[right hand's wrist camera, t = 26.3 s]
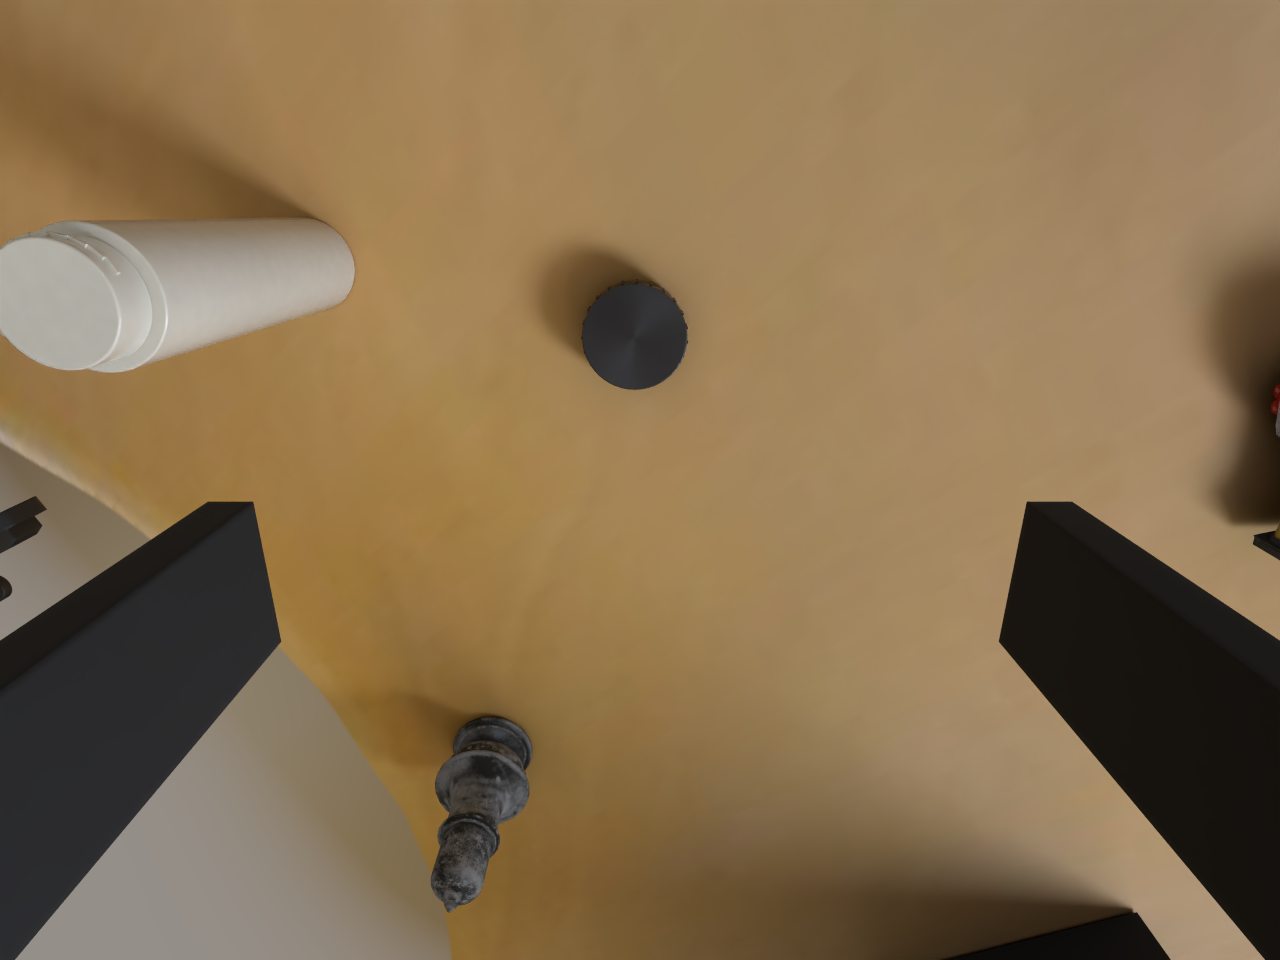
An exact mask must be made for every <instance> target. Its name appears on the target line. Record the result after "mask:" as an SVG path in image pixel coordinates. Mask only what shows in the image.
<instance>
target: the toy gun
mask: <svg viewBox="0 0 1280 960" xmlns="http://www.w3.org/2000/svg"><path fill="white" fill-rule="evenodd" d="M1273 394H1274V396H1275V398H1276V401H1274V402H1273V403H1272V404H1271V412H1272V413H1274V414H1276V415H1277V420H1276V435H1278V437H1279V438H1280V384H1278V385H1275V387H1274V390H1273ZM1254 537H1255V538H1254V542H1253V545H1255V546H1257V547H1258V548H1260V549H1262V550H1264V551H1265V552H1267V553H1269V554H1270V555H1272V556H1274V557H1275V558H1277V559H1279V560H1280V524H1279V526H1278V528H1277V530H1276V531H1272V532H1267V533H1262V534H1257V535H1254Z"/></svg>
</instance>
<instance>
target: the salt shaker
mask: <svg viewBox="0 0 1280 960" xmlns="http://www.w3.org/2000/svg"><path fill="white" fill-rule="evenodd" d="M453 750H454V755H453V756H452V757H451V758H450V759H449V760H448V761H446V762H445V763H444V764H443V765H442V767H441V768H440V770H439V772H438V773H437V777H436V781H435V788H436V794H437V797H438V799H439V801H440V803H441V804H442V805H443V807H444V808H445V809H446V810H447V811H448V812H449V816H448V819H446V820H445V821H444V822H443V823H442V824H441V826H440V827H439V830H438V835H437V836H438V842H439V845H440V849H439V853H438V856H437V859H436V862H435V865H434V868H433V872H432V876H431V887H432V889H433V891H434V893H435V895H436V896H437V897H438V899H440V900H441V901H443V902H444V906H445V908H446V910H447V912H450V911H452V910H453V909H455V908H456V907H457V905H465V904H467V903H469V902H471V901H472V900H474V899H475V898H476V897H477V896H478V894H479V893H480V891H481V889H482V886H483V882H484V878H485V874H486V870H487V865H488V861H489V858H490V857H491V856H493V855H494V854H495V852H496V851H497V849H498V847H499V843H500V837H499V833H498V831H497V828H498V824H500V823H503V822H505V821H508V820H510V819H512V818H514V817H515V816H516V815H517V814H519V813H520V812H521V811H522V809H523V808H524V806H525V805H526V803H527V800H528V797H529V783H528V780H527V777H526V773H525V770H526V768H527V767H528V765H529V764H530V761H531V758H532V745H531V742H530V739H529V737H528V736H527V734H526V733H525V732H524V730H522V729H521V728H520V727H519V726H517V725H516V724H514V723H512V722H510V721H508V720H505V719H501V718H497V717H485V718H480V719H475V720H473V721H471V722H469V723H467V724H466V725H465V726H464V727H462V728H461V729H460V730H459V732H458V734H457V735H456V737H455V740H454V744H453Z"/></svg>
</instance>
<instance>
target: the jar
mask: <svg viewBox="0 0 1280 960" xmlns="http://www.w3.org/2000/svg"><path fill="white" fill-rule="evenodd" d="M354 275H355V268H354V261H353V257H352V254H351V252H350V249H349V247H348V246H347V244H346V242H345V241H344V239H343V238H342V237H341V236H340V235H339V234H338V233H337V232H336V231H335V230H334V229H333V228H331V227H330V226H329V225H327V224H325V223H323V222H321V221H318V220H315V219H312V218H233V219H159V220H86V221H62V222H57V223H53V224H50V225H48V226H46V227H44V228H42V229H40V230H39V231H37V232H33V233H26V234H23V235H21V236H18V237H16V238H14V239H10V240H9V241H8V242H7V243H6V244H5V245H4V246H3V247H1V248H0V333H1V334H2V336H5V337H6V338H7V340H8V341H9V342H10V343H11V344H12V345H13V346H14V347H15V348H17V349H18V350H19V351H20V352H22V353H23V354H24V355H26V356H28V357H29V358H31V359H32V360H34V361H36V362H38V363H40V364H43V365H46V366H49V367H52V368H56V369H61V370H83V369H90V370H94V371H98V372H106V373H116V372H124V371H128V370H131V369H135V368H138V367H141V366H145V365H148V364H151V363H154V362H158V361H161V360H164V359H167V358H171V357H174V356H177V355H180V354H184V353H187V352H190V351H193V350H197V349H200V348H203V347H206V346H210V345H213V344H216V343H219V342H223V341H226V340H229V339H232V338H236V337H239V336H242V335H245V334H249V333H252V332H255V331H258V330H262V329H265V328H268V327H271V326H275V325H278V324H281V323H284V322H288V321H291V320H294V319H297V318H301V317H304V316H307V315H310V314H314V313H317V312H320V311H323V310H327V309H330V308H332V307H334V306H336V305H338V304H339V303H341V302H342V301H343V300H344V299H345V298H346V296H347V295H348V293H349V292H350V290H351V288H352V285H353V281H354Z"/></svg>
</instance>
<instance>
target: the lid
mask: <svg viewBox="0 0 1280 960" xmlns="http://www.w3.org/2000/svg"><path fill="white" fill-rule="evenodd" d="M587 311H588V314H587V316H586V318H585V320H584V321H583V324H582V325H583V331H582V337H581V339H582V341H583V348H584V354H585V355H586V357H587V360H588V361H589V363H590V365H591V366H592V368H593V369H594V371H595V372H596V373H597V374H598V375H599V376H600V377H602V378H603V379H604V380H605V381H607V382H609V383H610V384H613V385H615V386H617V387H620V388H625V389H633V390H637V389H645V388H649V387H652V386H655V385H657V384H659V383H661V382H663V381H664V380H666V379H667V378H668V377H669V376H670V375H672V373H673V372H674V371H675V370H676V369H677V367H678V366H679V364H680V363H681V361H682V359H683V357H684V353H685V350H686V345H687V344H688V341H687V329H688V327H687V325H686V324H685V321H684V318H683V315H684V313H683V311H682V310H680V309H679V307H678V305H677V303H676V300H675V298H672V297H671V296H670V295H669V294H668V293H667V292H666V291H665V289H664V288H663V289H661V288H659V287H657V286H655V285H653V284H652V282H650V283H647V282H642V281H638V280H636V281H628V282H624V281H622V282H621V283H619V284H617V285H614V286H612V287H610V286H609V287H608V289H607V290H606V291H604V292H603V293H602V294H601V295H600V296H599V295H598V296H597V297H596V300H595V301H594V303H593V305H592V306H589V308H588V310H587Z"/></svg>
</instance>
